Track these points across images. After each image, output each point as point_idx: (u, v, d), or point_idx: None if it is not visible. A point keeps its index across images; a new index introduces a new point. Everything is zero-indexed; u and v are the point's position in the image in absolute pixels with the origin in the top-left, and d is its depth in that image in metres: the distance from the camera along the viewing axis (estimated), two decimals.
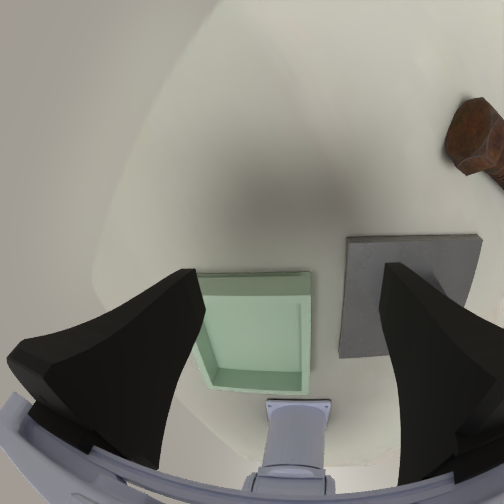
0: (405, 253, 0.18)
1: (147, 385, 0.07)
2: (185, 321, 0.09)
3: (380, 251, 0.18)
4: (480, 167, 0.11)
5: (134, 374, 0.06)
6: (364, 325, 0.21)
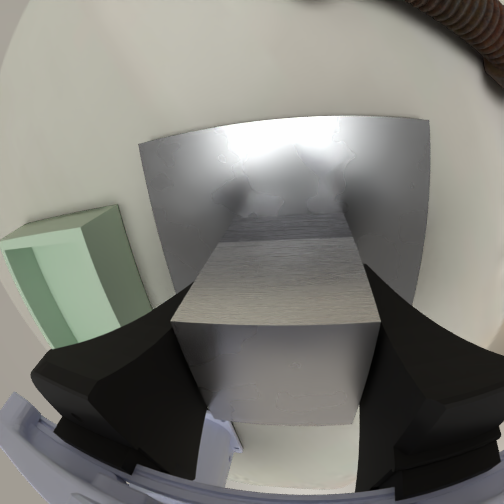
0: (240, 147, 0.10)
1: (187, 393, 0.07)
2: None
3: (190, 149, 0.10)
4: None
5: (176, 382, 0.06)
6: None
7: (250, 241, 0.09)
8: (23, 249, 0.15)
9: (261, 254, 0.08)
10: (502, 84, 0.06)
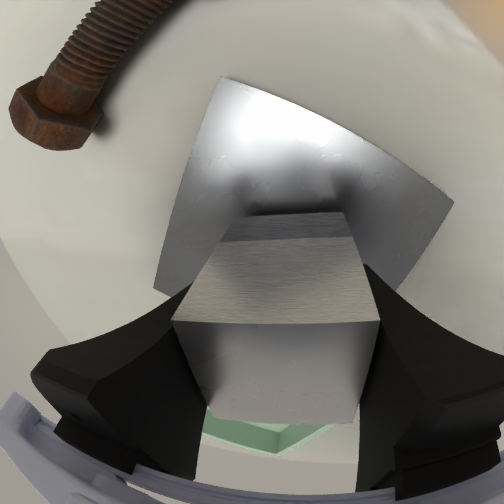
0: (184, 232, 0.13)
1: (187, 393, 0.07)
2: None
3: (171, 261, 0.14)
4: (56, 129, 0.09)
5: (176, 382, 0.06)
6: None
7: (250, 241, 0.09)
8: None
9: (261, 253, 0.08)
10: None
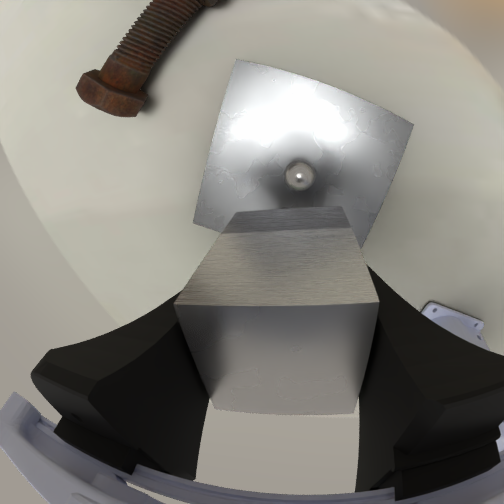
0: (218, 169, 0.18)
1: (187, 393, 0.07)
2: None
3: (208, 195, 0.19)
4: (120, 99, 0.13)
5: (176, 382, 0.06)
6: None
7: (251, 232, 0.09)
8: None
9: (262, 243, 0.08)
10: (214, 2, 0.11)
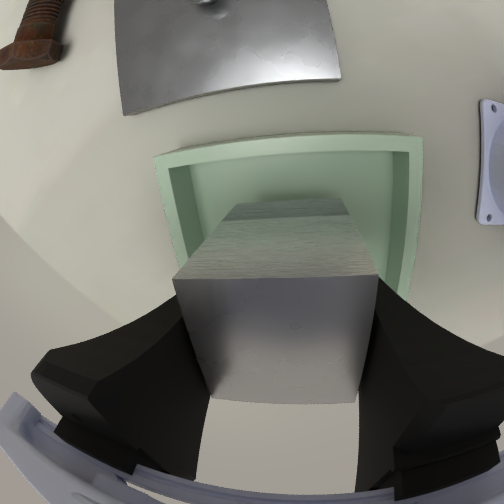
0: (128, 45, 0.11)
1: (187, 393, 0.07)
2: None
3: (128, 75, 0.12)
4: (28, 44, 0.08)
5: (176, 382, 0.06)
6: (250, 50, 0.11)
7: (251, 219, 0.09)
8: None
9: (262, 228, 0.08)
10: None
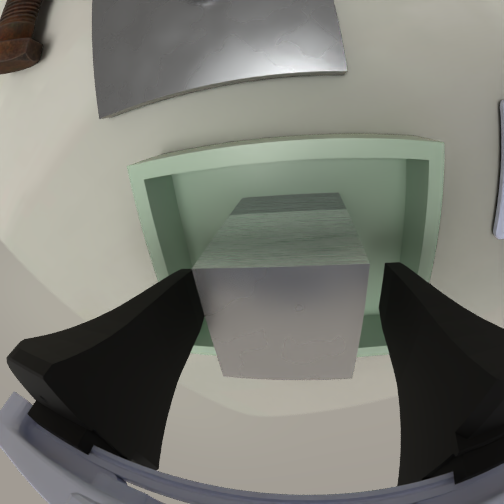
0: (105, 40, 0.09)
1: (147, 385, 0.07)
2: (185, 321, 0.09)
3: (104, 73, 0.10)
4: (4, 45, 0.07)
5: (134, 374, 0.06)
6: (239, 39, 0.09)
7: (257, 213, 0.10)
8: None
9: (267, 221, 0.09)
10: None
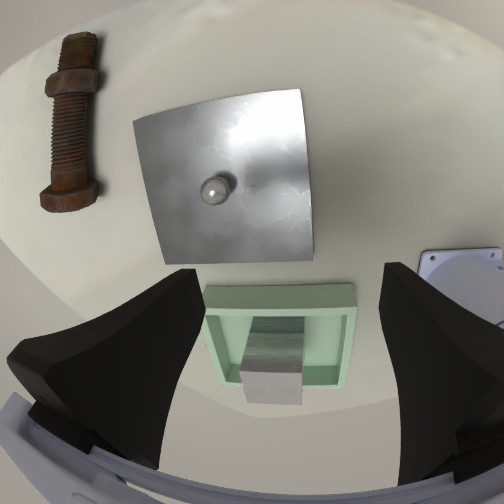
0: (161, 213, 0.20)
1: (147, 385, 0.07)
2: (185, 321, 0.09)
3: (165, 237, 0.21)
4: (73, 197, 0.18)
5: (134, 374, 0.06)
6: (253, 239, 0.20)
7: (262, 333, 0.21)
8: (237, 370, 0.27)
9: (266, 342, 0.20)
10: (92, 88, 0.15)
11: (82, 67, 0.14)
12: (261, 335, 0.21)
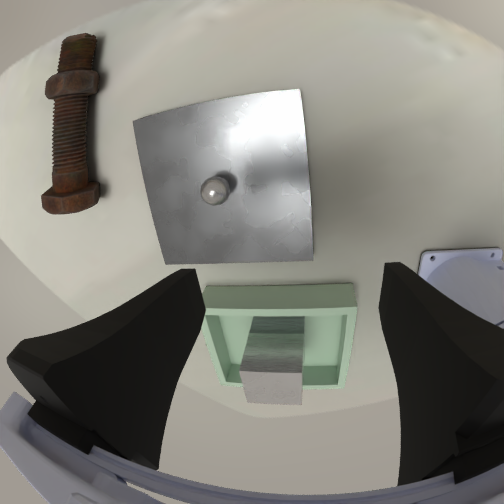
0: (161, 213, 0.20)
1: (147, 385, 0.07)
2: (185, 321, 0.09)
3: (165, 237, 0.21)
4: (74, 199, 0.18)
5: (134, 374, 0.06)
6: (253, 239, 0.20)
7: (262, 333, 0.21)
8: (237, 370, 0.27)
9: (266, 342, 0.20)
10: (92, 89, 0.15)
11: (82, 68, 0.14)
12: (261, 335, 0.21)
